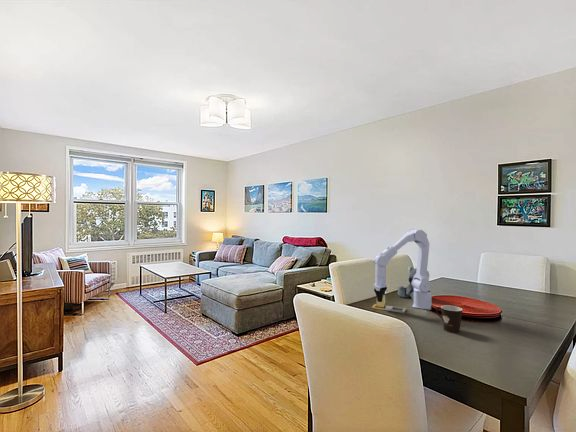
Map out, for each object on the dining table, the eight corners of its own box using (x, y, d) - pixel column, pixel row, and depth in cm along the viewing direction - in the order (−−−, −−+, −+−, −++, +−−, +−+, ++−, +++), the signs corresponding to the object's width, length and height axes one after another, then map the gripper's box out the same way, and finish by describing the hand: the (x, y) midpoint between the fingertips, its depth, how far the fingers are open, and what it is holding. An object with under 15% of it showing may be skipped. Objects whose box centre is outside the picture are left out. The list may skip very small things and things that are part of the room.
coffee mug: (466, 333, 134) (466, 311, 134) (446, 333, 134) (446, 311, 134) (452, 324, 145) (452, 303, 145) (434, 324, 146) (434, 303, 146)
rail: (405, 309, 168) (405, 308, 168) (404, 313, 162) (404, 311, 162) (374, 305, 176) (374, 303, 176) (371, 308, 170) (371, 306, 170)
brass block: (385, 306, 172) (385, 293, 172) (383, 307, 168) (383, 295, 168) (378, 305, 174) (378, 292, 174) (376, 306, 170) (376, 294, 170)
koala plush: (395, 296, 196) (395, 265, 196) (415, 293, 203) (416, 264, 203) (417, 303, 180) (417, 270, 180) (438, 300, 188) (438, 268, 188)
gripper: (376, 273, 179) (376, 296, 179) (370, 278, 167) (370, 303, 167) (388, 274, 176) (388, 298, 176) (383, 279, 163) (383, 304, 163)
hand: (380, 300), depth 171 cm, fingers closed on brass block, 4 cm apart
